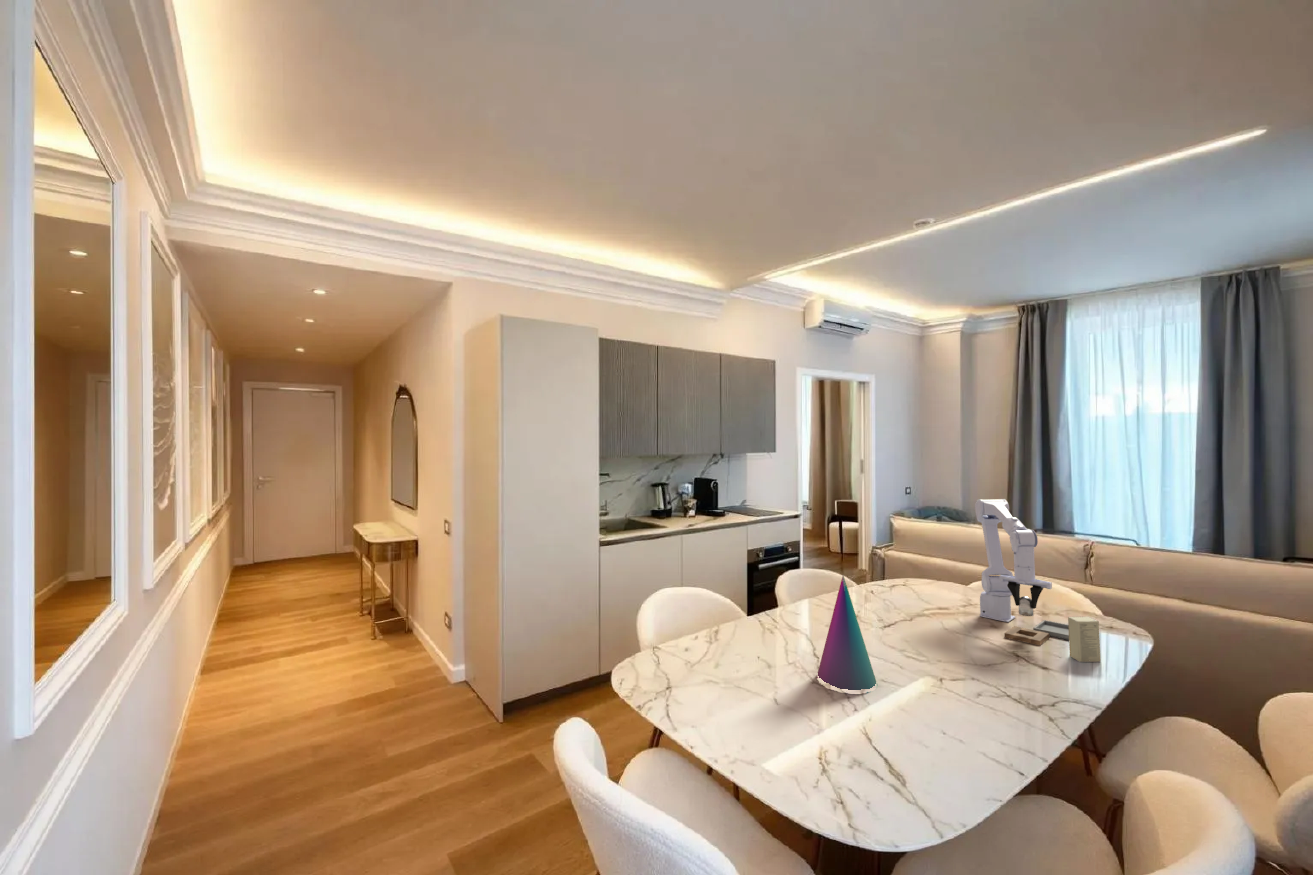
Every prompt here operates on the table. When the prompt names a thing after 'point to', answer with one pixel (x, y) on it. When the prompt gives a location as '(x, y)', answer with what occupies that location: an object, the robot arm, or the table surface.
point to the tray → (1053, 629)
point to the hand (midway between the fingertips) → (1025, 606)
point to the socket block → (1036, 637)
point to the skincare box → (1084, 639)
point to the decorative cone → (845, 648)
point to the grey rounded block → (1025, 606)
